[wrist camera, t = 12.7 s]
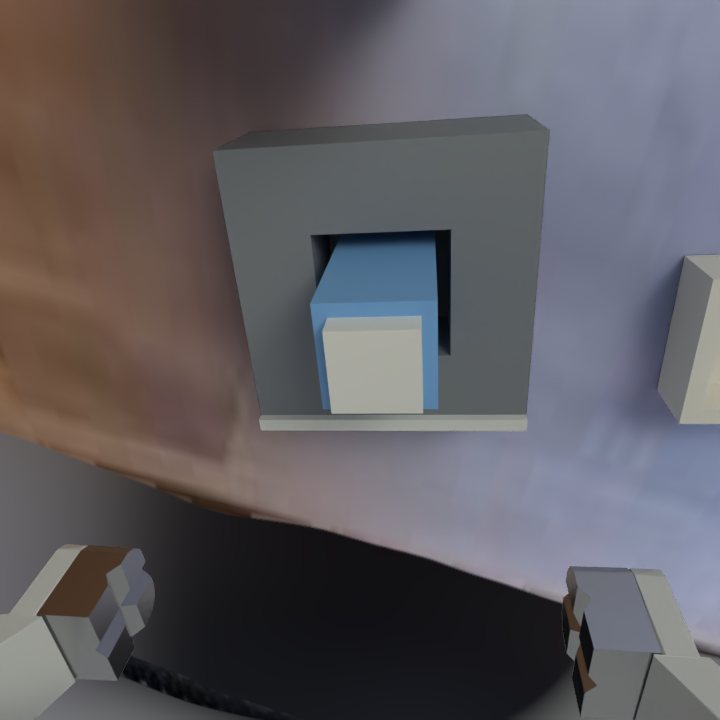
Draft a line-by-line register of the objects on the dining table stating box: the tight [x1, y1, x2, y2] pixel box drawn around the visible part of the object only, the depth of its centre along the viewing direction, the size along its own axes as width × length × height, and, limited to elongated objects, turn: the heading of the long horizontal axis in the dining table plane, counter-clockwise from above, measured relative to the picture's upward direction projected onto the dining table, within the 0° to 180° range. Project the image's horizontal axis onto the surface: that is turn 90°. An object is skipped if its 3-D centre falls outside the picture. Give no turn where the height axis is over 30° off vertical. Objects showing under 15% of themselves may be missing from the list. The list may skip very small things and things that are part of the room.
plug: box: [310, 230, 438, 414], centre depth 22 cm, size 4×4×10 cm
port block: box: [212, 114, 550, 431], centre depth 25 cm, size 12×12×5 cm
